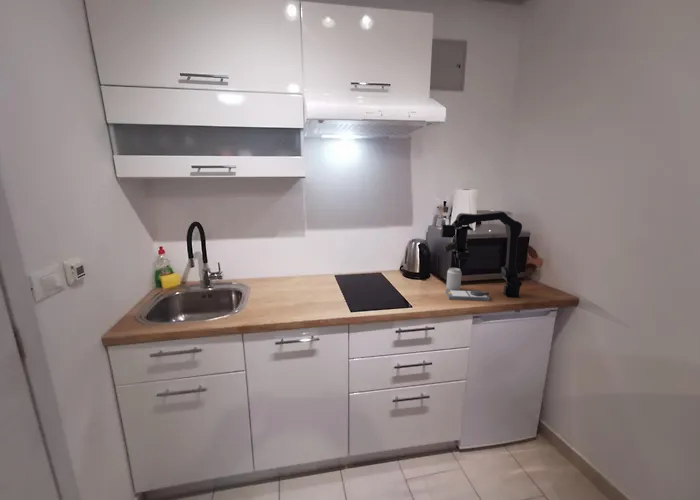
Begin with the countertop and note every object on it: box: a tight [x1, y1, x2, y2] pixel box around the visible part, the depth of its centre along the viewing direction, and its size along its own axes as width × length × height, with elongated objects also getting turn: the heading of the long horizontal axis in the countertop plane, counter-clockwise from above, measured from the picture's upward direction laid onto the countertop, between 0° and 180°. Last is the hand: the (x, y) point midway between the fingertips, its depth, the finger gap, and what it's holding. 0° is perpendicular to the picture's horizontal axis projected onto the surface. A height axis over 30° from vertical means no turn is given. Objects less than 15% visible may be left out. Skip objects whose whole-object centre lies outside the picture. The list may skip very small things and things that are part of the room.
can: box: [445, 267, 463, 290], centre depth 179 cm, size 8×8×12 cm
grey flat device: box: [445, 289, 491, 302], centre depth 170 cm, size 21×10×3 cm, turn 84°
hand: (458, 267), depth 172 cm, fingers open, 9 cm apart
